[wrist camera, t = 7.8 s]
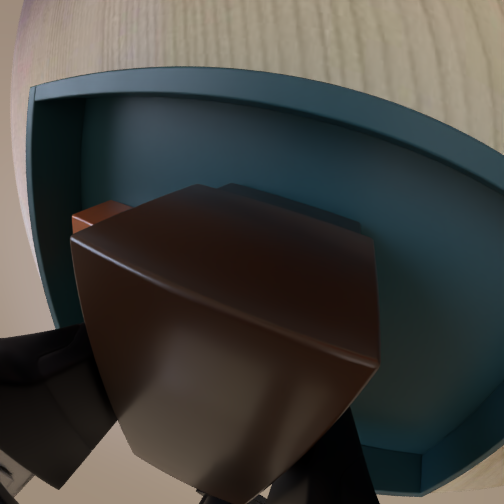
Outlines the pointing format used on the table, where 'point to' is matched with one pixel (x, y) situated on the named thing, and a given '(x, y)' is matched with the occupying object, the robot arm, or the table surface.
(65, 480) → the robot arm
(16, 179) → the table surface
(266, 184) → the tray
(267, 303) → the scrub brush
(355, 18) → the table surface
